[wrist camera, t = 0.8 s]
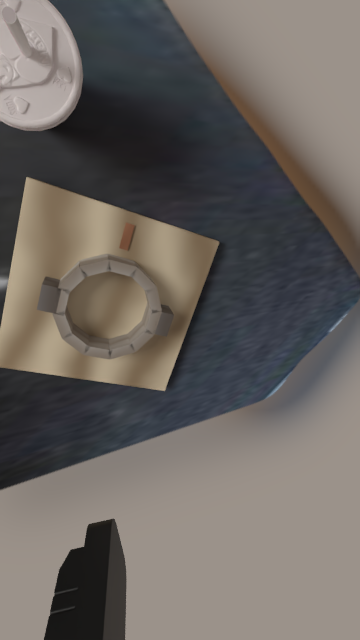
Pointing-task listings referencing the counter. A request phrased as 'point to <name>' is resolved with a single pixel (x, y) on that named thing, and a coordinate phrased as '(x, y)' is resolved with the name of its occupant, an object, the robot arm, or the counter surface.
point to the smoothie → (37, 65)
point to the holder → (99, 290)
